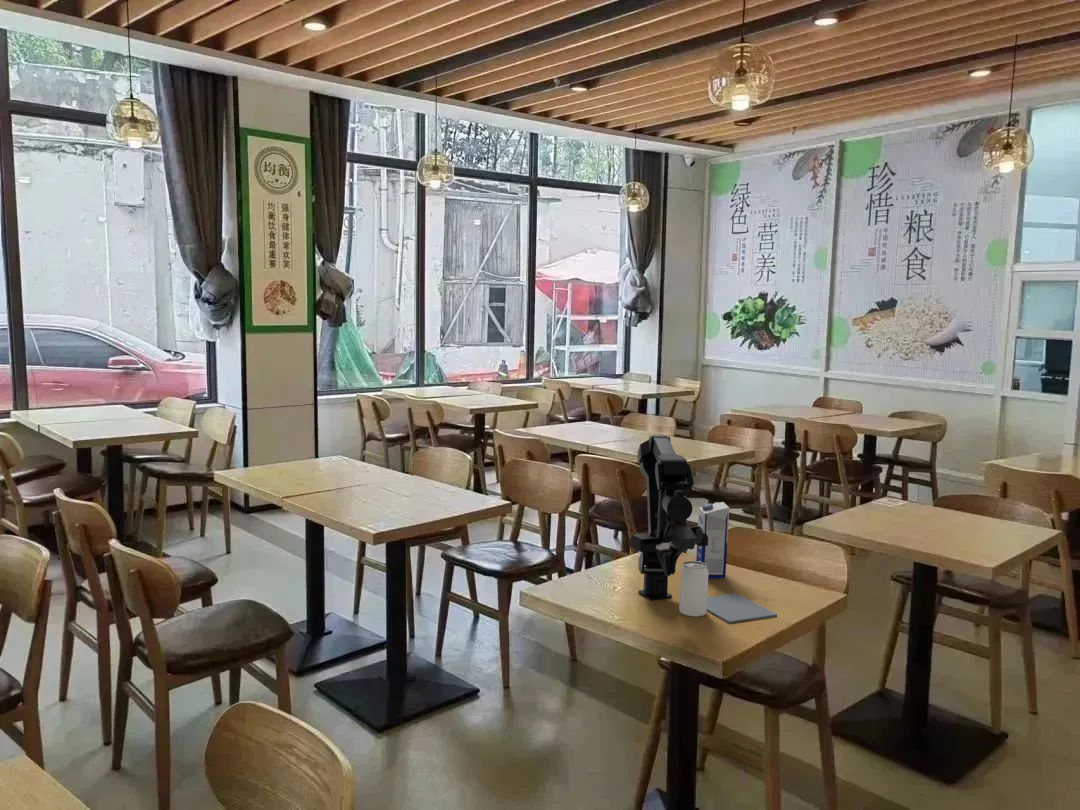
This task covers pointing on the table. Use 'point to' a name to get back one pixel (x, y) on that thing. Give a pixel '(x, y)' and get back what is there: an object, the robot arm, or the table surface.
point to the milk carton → (714, 538)
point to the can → (693, 589)
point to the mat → (736, 608)
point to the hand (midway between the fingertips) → (667, 575)
